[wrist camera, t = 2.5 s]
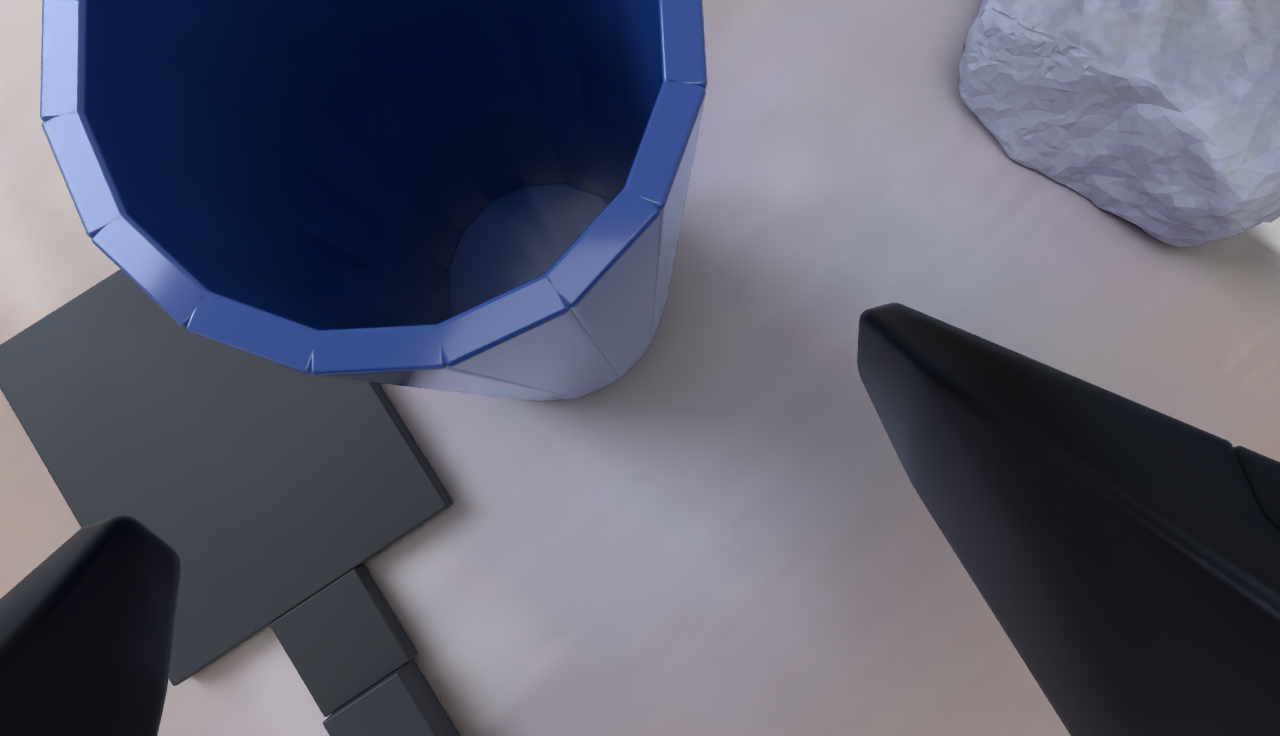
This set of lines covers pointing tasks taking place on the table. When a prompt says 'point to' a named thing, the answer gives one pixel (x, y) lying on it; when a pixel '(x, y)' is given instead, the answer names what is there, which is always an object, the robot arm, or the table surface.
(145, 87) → the cup
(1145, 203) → the stone block
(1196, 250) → the table surface
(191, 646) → the spatula
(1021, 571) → the robot arm
